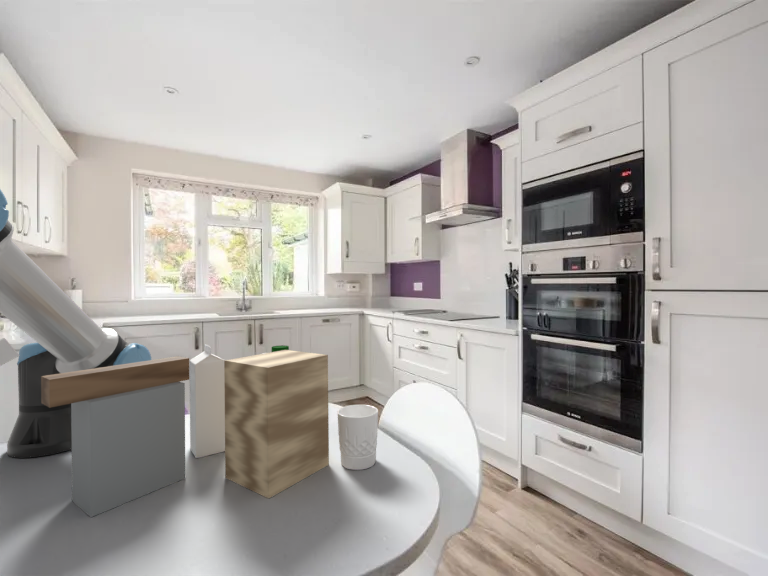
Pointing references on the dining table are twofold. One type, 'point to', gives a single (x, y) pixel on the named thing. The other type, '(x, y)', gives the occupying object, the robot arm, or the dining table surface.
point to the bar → (111, 380)
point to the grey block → (127, 446)
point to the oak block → (275, 419)
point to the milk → (207, 404)
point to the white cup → (358, 436)
